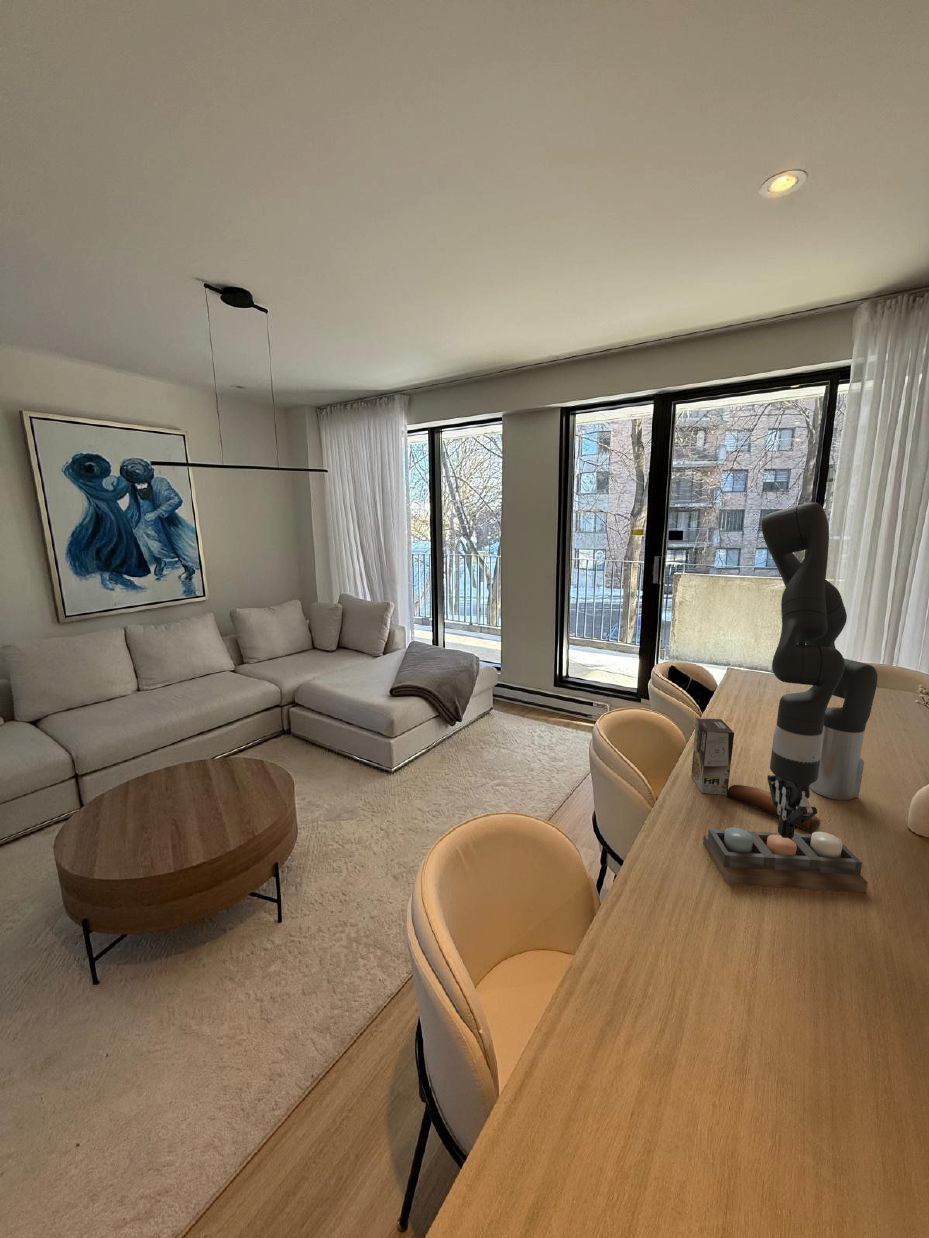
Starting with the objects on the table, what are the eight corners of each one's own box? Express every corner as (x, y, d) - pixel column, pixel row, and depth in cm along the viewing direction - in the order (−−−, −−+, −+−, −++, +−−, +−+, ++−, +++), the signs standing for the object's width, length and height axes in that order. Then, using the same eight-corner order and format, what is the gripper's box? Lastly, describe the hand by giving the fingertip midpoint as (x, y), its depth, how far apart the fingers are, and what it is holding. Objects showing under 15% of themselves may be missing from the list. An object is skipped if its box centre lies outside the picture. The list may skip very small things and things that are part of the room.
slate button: (744, 841, 100) (746, 828, 100) (756, 857, 96) (757, 843, 95) (719, 840, 101) (720, 826, 100) (729, 856, 96) (731, 841, 96)
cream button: (830, 846, 99) (832, 832, 99) (846, 862, 94) (848, 848, 94) (804, 844, 100) (806, 831, 99) (818, 860, 95) (821, 846, 94)
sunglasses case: (825, 820, 113) (823, 801, 110) (812, 844, 110) (809, 826, 107) (742, 786, 127) (738, 769, 124) (728, 807, 124) (724, 790, 121)
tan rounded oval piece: (786, 848, 100) (788, 835, 99) (800, 865, 95) (802, 850, 95) (761, 847, 100) (762, 833, 100) (773, 863, 96) (775, 849, 95)
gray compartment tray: (825, 849, 103) (828, 829, 102) (866, 891, 91) (869, 869, 91) (702, 843, 105) (704, 823, 104) (727, 883, 93) (729, 862, 93)
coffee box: (728, 795, 123) (735, 733, 120) (700, 793, 124) (706, 731, 121) (716, 776, 132) (722, 718, 129) (690, 775, 133) (695, 716, 130)
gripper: (840, 769, 87) (827, 859, 90) (797, 736, 100) (787, 816, 103) (794, 767, 87) (783, 857, 91) (757, 735, 100) (748, 814, 104)
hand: (785, 835), depth 97 cm, fingers closed
